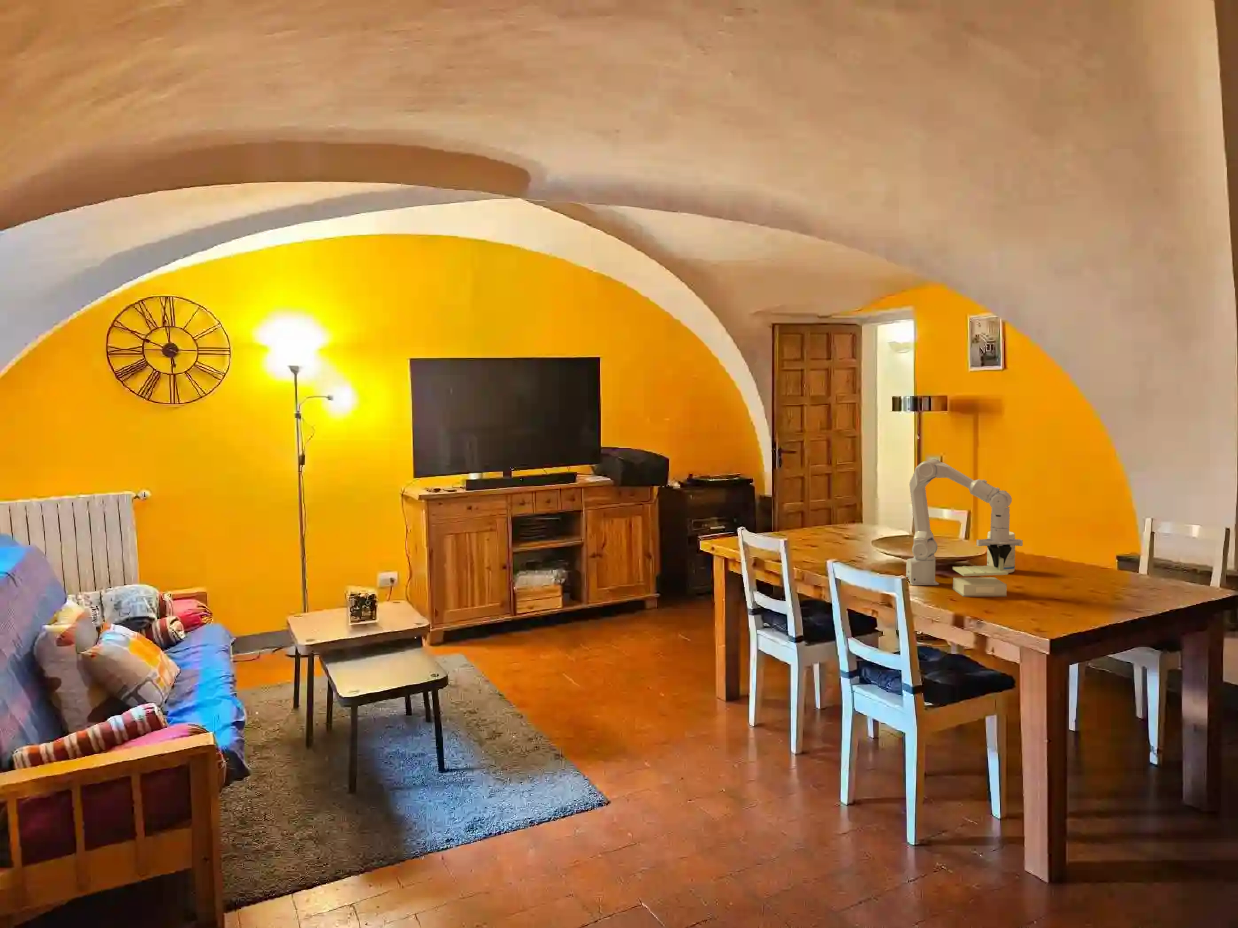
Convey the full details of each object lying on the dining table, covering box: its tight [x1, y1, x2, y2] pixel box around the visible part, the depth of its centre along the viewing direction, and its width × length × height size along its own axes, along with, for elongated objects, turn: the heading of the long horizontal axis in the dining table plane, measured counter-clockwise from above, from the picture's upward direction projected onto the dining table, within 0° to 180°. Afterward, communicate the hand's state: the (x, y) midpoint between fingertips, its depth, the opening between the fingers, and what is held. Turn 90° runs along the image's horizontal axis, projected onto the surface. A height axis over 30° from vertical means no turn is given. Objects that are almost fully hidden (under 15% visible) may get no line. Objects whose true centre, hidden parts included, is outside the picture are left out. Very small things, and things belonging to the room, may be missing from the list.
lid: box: [952, 557, 1009, 577], centre depth 279 cm, size 14×10×5 cm
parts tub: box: [952, 576, 1008, 597], centre depth 280 cm, size 14×10×4 cm
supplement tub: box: [986, 530, 1016, 574], centre depth 310 cm, size 10×10×15 cm
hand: (998, 566), depth 279 cm, fingers closed on lid
